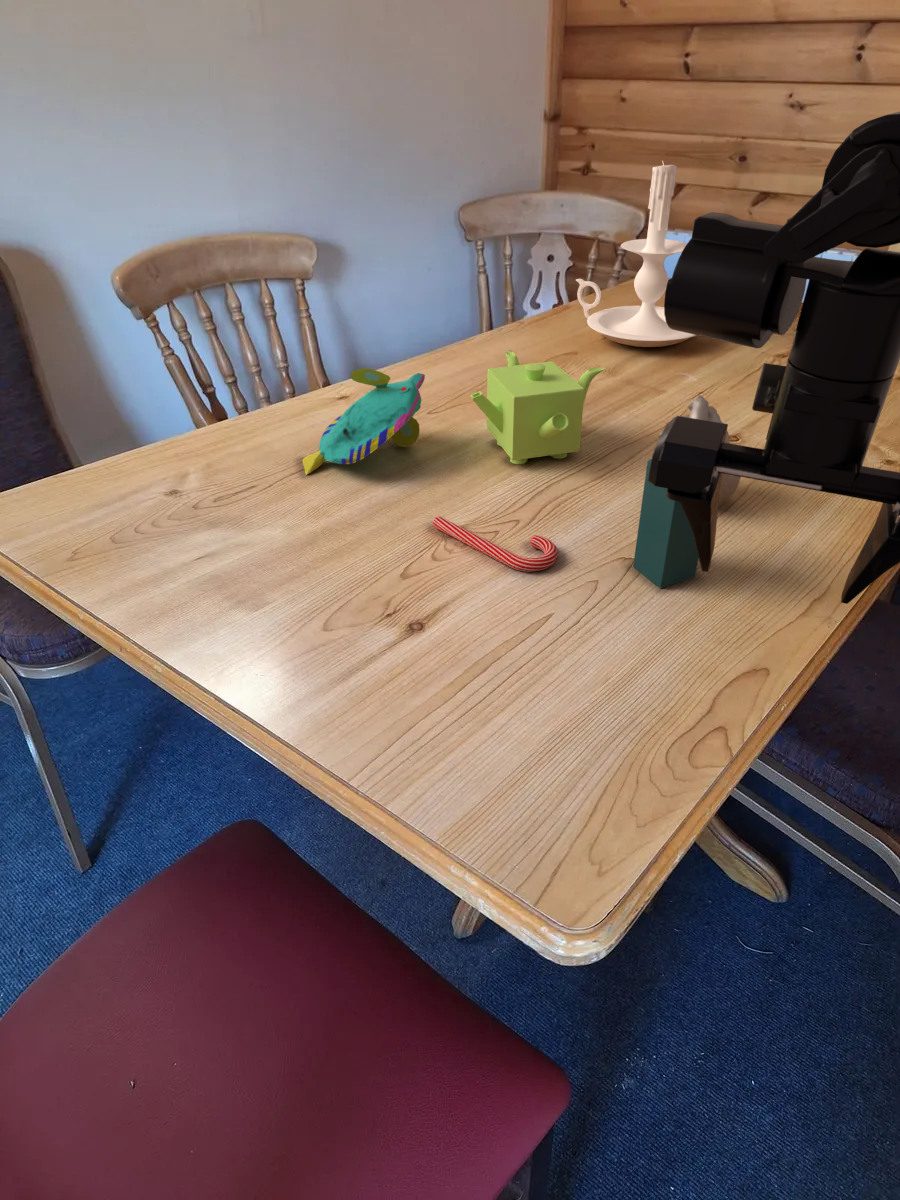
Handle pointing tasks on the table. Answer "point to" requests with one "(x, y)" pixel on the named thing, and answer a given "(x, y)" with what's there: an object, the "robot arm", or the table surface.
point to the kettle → (534, 408)
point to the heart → (709, 413)
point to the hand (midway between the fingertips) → (773, 584)
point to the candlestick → (644, 278)
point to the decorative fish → (371, 420)
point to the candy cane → (499, 552)
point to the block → (664, 538)
